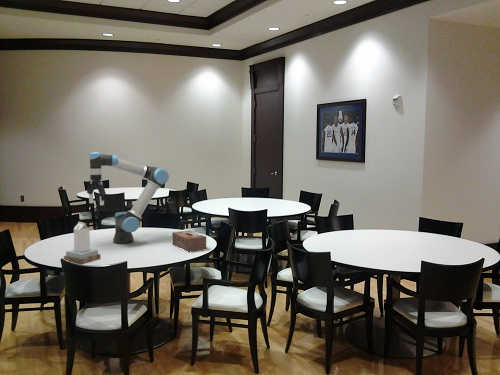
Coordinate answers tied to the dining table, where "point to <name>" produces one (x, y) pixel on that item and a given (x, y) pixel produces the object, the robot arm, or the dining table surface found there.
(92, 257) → the bottom slab
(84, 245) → the milk carton
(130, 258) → the dining table surface
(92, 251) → the top slab
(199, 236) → the tissue box cover
